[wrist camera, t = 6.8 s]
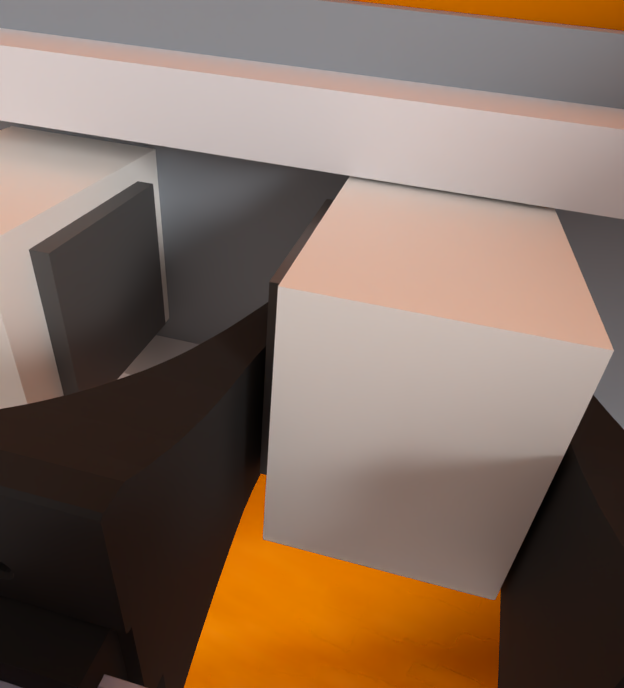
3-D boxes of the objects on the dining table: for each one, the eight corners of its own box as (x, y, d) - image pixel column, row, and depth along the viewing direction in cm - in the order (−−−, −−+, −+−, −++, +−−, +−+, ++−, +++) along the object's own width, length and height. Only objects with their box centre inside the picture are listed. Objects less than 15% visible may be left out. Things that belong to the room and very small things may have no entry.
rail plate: (822, 53, 10) (1236, 149, 5) (587, 477, 17) (643, 719, 12) (-13, -40, 13) (-382, -49, 7) (73, 360, 20) (-83, 513, 14)
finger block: (548, 194, 11) (613, 350, 6) (484, 386, 14) (495, 600, 9) (338, 162, 12) (247, 280, 7) (317, 352, 15) (241, 533, 10)
